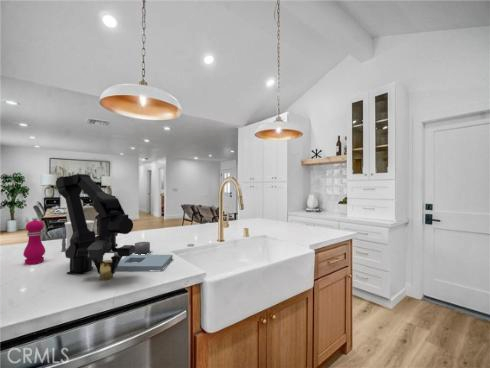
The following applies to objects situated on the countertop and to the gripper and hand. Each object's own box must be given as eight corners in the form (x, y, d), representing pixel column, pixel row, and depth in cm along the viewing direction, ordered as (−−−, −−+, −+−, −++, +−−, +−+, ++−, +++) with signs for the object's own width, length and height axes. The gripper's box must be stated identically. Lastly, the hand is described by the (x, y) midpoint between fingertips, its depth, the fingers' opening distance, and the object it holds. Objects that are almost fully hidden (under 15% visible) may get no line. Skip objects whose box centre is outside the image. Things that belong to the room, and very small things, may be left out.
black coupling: (131, 255, 118) (132, 245, 118) (138, 251, 125) (138, 241, 125) (146, 255, 118) (146, 245, 118) (151, 251, 125) (152, 241, 125)
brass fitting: (97, 280, 86) (97, 263, 86) (103, 275, 91) (104, 259, 91) (109, 280, 86) (109, 263, 86) (115, 275, 91) (115, 259, 91)
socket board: (111, 271, 95) (111, 266, 95) (129, 258, 111) (129, 254, 111) (161, 271, 96) (161, 266, 96) (172, 258, 112) (172, 254, 112)
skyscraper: (67, 248, 130) (68, 196, 130) (84, 247, 133) (85, 196, 133) (60, 252, 122) (61, 197, 122) (79, 251, 125) (80, 197, 125)
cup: (78, 268, 99) (79, 224, 99) (57, 266, 101) (58, 223, 101) (99, 260, 109) (99, 220, 109) (79, 258, 111) (80, 220, 111)
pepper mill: (20, 263, 104) (20, 217, 104) (40, 259, 110) (41, 215, 110) (27, 266, 100) (28, 218, 101) (48, 261, 107) (49, 216, 107)
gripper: (65, 236, 80) (65, 282, 80) (122, 236, 81) (121, 282, 81) (86, 230, 91) (86, 270, 91) (136, 230, 92) (135, 270, 92)
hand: (106, 273), depth 89 cm, fingers closed on brass fitting, 4 cm apart
